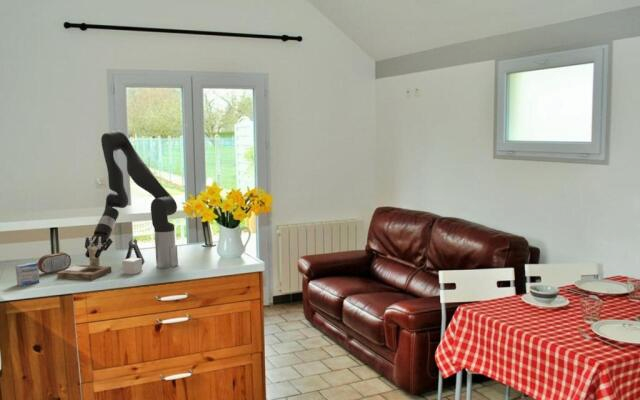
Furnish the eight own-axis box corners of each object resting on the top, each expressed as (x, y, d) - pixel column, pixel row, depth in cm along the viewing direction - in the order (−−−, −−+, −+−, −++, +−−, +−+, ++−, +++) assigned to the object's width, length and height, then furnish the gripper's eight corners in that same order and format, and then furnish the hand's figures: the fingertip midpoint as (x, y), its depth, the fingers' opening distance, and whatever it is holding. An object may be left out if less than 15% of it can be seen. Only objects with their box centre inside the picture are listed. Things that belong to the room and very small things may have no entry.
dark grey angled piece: (123, 265, 286) (121, 241, 285) (125, 262, 292) (124, 238, 291) (142, 264, 288) (141, 240, 286) (144, 261, 293) (143, 238, 292)
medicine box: (21, 286, 254) (19, 266, 253) (16, 284, 257) (15, 265, 256) (39, 282, 260) (38, 263, 259) (35, 280, 263) (33, 261, 262)
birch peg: (101, 266, 286) (100, 246, 284) (96, 268, 281) (94, 248, 280) (93, 266, 287) (92, 245, 285) (88, 268, 282) (86, 247, 281)
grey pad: (87, 267, 274) (87, 266, 274) (77, 271, 267) (77, 270, 267) (74, 266, 276) (74, 266, 276) (64, 270, 269) (64, 270, 269)
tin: (69, 267, 285) (67, 250, 284) (72, 268, 283) (71, 251, 282) (38, 274, 273) (36, 256, 272) (41, 275, 271) (39, 257, 270)
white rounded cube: (142, 271, 276) (141, 258, 275) (134, 274, 271) (133, 261, 270) (131, 270, 278) (130, 257, 277) (123, 273, 273) (122, 260, 272)
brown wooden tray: (111, 271, 275) (111, 266, 275) (92, 280, 262) (92, 274, 261) (77, 270, 280) (77, 264, 279) (57, 278, 266) (57, 272, 266)
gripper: (88, 222, 290) (74, 252, 280) (114, 223, 287) (101, 253, 277) (96, 231, 296) (82, 260, 286) (121, 231, 292) (108, 261, 282)
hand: (91, 256), depth 281 cm, fingers closed on birch peg, 4 cm apart
